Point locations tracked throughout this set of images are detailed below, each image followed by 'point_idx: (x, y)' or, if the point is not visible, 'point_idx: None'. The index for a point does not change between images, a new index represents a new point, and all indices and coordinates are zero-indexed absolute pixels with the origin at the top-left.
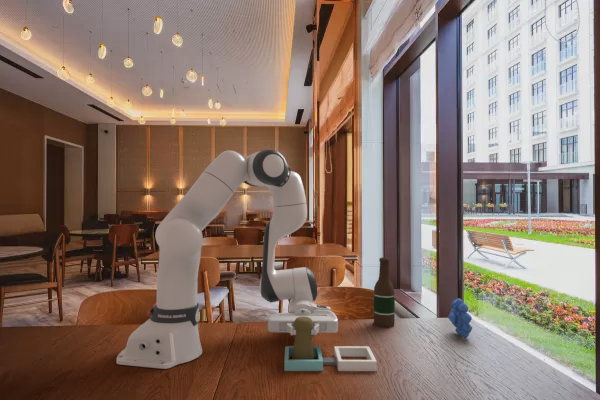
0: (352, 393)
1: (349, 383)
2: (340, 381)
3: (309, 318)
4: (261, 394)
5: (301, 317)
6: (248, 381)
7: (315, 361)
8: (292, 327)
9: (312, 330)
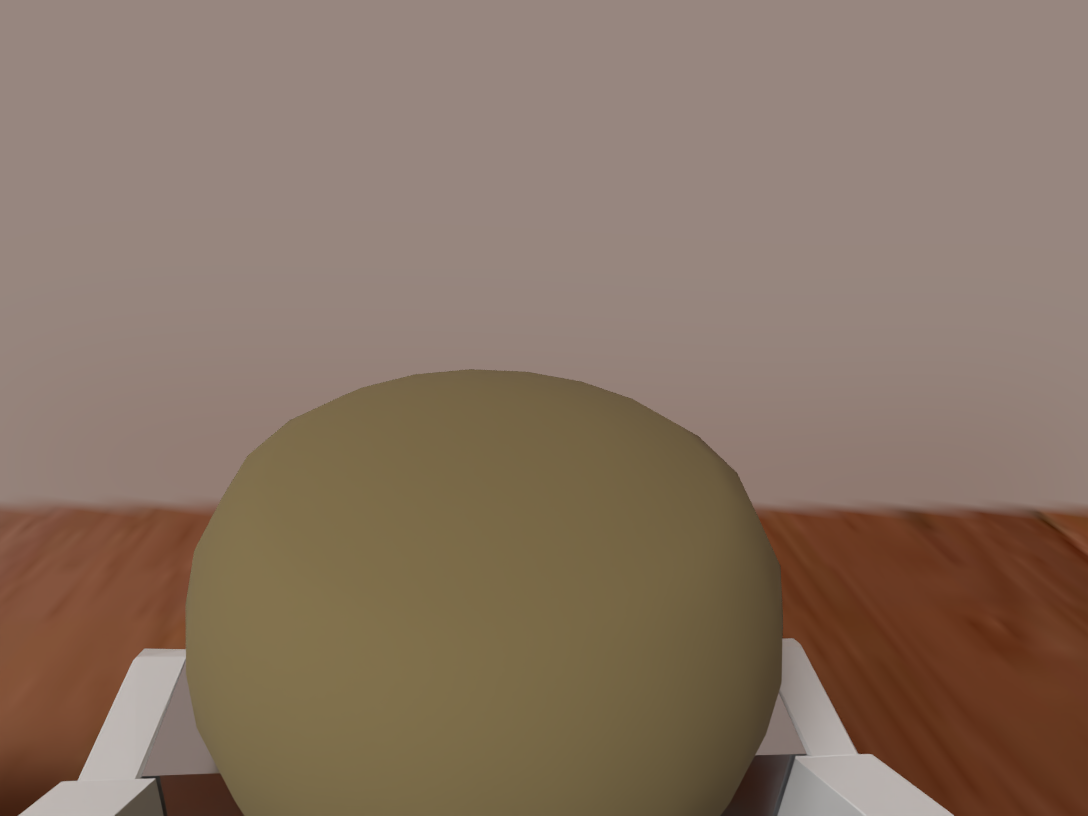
0: (96, 513)
1: (27, 619)
2: (98, 645)
3: (301, 456)
4: None
5: (574, 454)
6: (940, 631)
7: None
8: (799, 722)
9: None
